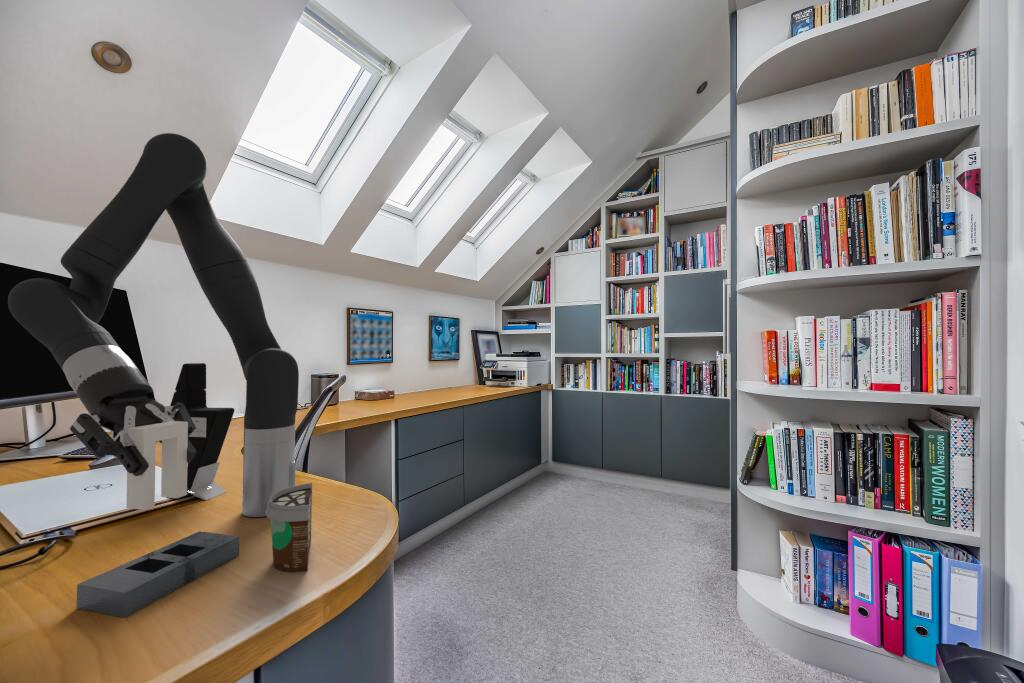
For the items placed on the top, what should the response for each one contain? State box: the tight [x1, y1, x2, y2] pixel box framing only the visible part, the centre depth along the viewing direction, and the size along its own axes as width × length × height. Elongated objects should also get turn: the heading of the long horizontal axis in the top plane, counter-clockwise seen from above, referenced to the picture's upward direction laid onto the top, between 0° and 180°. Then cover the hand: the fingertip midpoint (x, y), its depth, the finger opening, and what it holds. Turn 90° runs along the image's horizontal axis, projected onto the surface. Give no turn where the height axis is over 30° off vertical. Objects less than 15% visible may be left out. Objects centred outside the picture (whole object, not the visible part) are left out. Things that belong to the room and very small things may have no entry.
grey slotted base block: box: [76, 531, 240, 618], centre depth 59 cm, size 16×8×3 cm, turn 167°
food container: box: [265, 482, 313, 573], centre depth 64 cm, size 12×6×10 cm, turn 23°
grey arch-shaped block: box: [125, 421, 188, 511], centre depth 60 cm, size 6×3×11 cm, turn 166°
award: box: [158, 362, 235, 501], centre depth 95 cm, size 15×5×30 cm, turn 81°
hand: (167, 465), depth 59 cm, fingers closed on grey arch-shaped block, 6 cm apart
